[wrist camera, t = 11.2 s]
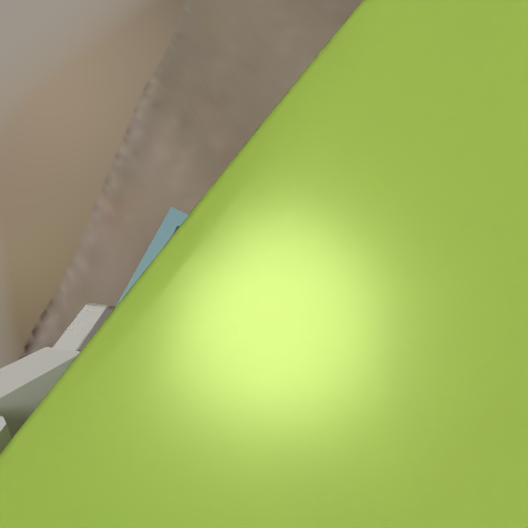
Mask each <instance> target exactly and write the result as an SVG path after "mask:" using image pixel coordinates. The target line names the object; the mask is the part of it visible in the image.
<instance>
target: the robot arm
mask: <svg viewBox="0 0 528 528" xmlns="http://www.w3.org/2000/svg"><path fill="white" fill-rule="evenodd" d="M115 307H116V306H108V305H101V304H95V303H89V304H87V305H85V306H84V307H83V308H82V310H81V311H80V312H79V314H78V315H77V316H76V318H75V319H74V320H73V321H72V323H71V324H70V325H69V327H68V328H67V329H66V330H65V332H64V333H63V334H62V336H61V337H60V338H59V339H58V341H57V342H56V343H55V345H54V346H53V347H52V348H50V347H45V348H43V349H41V350H38V351H36V352H34V353H32V354H30V355H28V356H26V357H24V358H22V359H20V360H18V361H16V362H14V363H12V364H10V365H8V366H5V367H3V368H1V369H0V453H1V452H2V451H3V449H4V448H5V447H6V446H7V444H8V443H9V442H10V440H11V439H12V438H13V437H14V435H15V434H16V433H17V432H18V430H19V429H20V428H21V426H22V425H23V424H24V423H25V421H26V420H27V419H28V418H29V416H30V415H31V414H32V412H33V411H34V410H35V409H36V407H37V406H38V405H39V404H40V402H41V401H42V400H43V399H44V397H45V396H46V395H47V393H48V392H49V391H50V390H51V388H52V387H53V386H54V385H55V383H56V382H57V381H58V379H59V378H60V377H61V376H62V374H63V373H64V372H65V371H66V369H67V368H68V367H69V366H70V364H71V363H72V362H73V360H74V359H75V358H76V357H77V355H78V354H79V353H80V352H81V350H82V349H83V348H84V346H85V345H86V344H87V343H88V341H89V340H90V339H91V338H92V336H93V335H94V334H95V333H96V331H97V330H98V329H99V327H100V326H101V325H102V324H103V322H104V321H105V320H106V319H107V317H108V316H109V315H110V314H111V312H112V311H113V310H114V308H115Z"/></svg>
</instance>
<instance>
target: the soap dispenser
mask: <svg viewBox="0 0 528 528" xmlns="http://www.w3.org/2000/svg"><path fill="white" fill-rule="evenodd" d="M0 528H528V0H363V1H362V2H361V3H360V4H359V5H358V7H357V8H356V9H355V10H354V11H353V13H352V14H351V15H350V16H349V17H348V19H347V20H346V21H345V22H344V23H343V25H342V26H341V27H340V28H339V29H338V31H337V32H336V33H335V34H334V36H333V37H332V38H331V39H330V40H329V42H328V43H327V44H326V45H325V47H324V48H323V49H322V50H321V52H320V53H319V54H318V55H317V56H316V58H315V59H314V60H313V61H312V63H311V64H310V65H309V66H308V68H307V69H306V70H305V71H304V72H303V74H302V75H301V76H300V77H299V79H298V80H297V81H296V82H295V83H294V85H293V86H292V87H291V88H290V90H289V91H288V92H287V93H286V95H285V96H284V97H283V98H282V99H281V101H280V102H279V103H278V104H277V106H276V107H275V108H274V109H273V111H272V112H271V113H270V114H269V115H268V117H267V118H266V119H265V120H264V122H263V123H262V124H261V125H260V127H259V128H258V129H257V130H256V132H255V133H254V134H253V135H252V137H251V138H250V139H249V140H248V142H247V143H246V144H245V145H244V147H243V148H242V149H241V150H240V152H239V153H238V154H237V155H236V157H235V158H234V159H233V160H232V162H231V163H230V164H229V165H228V167H227V168H226V169H225V170H224V172H223V173H222V174H221V175H220V176H219V178H218V179H217V180H216V181H215V183H214V184H213V185H212V186H211V188H210V189H209V190H208V191H207V193H206V194H205V195H204V196H203V198H202V199H201V200H200V201H199V203H198V204H197V205H196V206H195V208H194V209H193V210H192V211H191V213H190V214H189V215H188V217H187V218H186V219H185V220H184V222H183V223H182V224H181V225H180V227H179V228H178V229H177V230H176V232H175V233H174V234H173V235H172V237H171V238H170V239H169V240H168V242H167V243H166V244H165V245H164V247H163V248H162V249H161V251H160V252H159V253H158V254H157V256H156V257H155V258H154V259H153V261H152V262H151V263H150V264H149V266H148V267H147V268H146V269H145V271H144V272H143V273H142V274H141V276H140V277H139V278H138V279H137V281H136V282H135V283H134V284H133V286H132V287H131V288H130V290H129V291H128V292H127V293H126V295H125V296H124V297H123V298H122V300H121V301H120V302H119V303H118V305H117V306H116V307H115V308H114V310H113V311H112V312H111V314H110V315H109V316H108V317H107V319H106V320H105V321H104V322H103V324H102V325H101V326H100V327H99V329H98V330H97V331H96V333H95V334H94V335H93V336H92V338H91V339H90V340H89V341H88V343H87V344H86V345H85V346H84V348H83V349H82V350H81V352H80V353H79V354H78V355H77V357H76V358H75V359H74V360H73V362H72V363H71V364H70V366H69V367H68V368H67V369H66V371H65V372H64V373H63V374H62V376H61V377H60V378H59V379H58V381H57V382H56V383H55V385H54V386H53V387H52V388H51V390H50V391H49V392H48V393H47V395H46V396H45V397H44V399H43V400H42V401H41V402H40V404H39V405H38V406H37V407H36V409H35V410H34V411H33V412H32V414H31V415H30V416H29V418H28V419H27V420H26V421H25V423H24V424H23V425H22V426H21V428H20V429H19V430H18V432H17V433H16V434H15V435H14V437H13V438H12V439H11V440H10V442H9V443H8V444H7V446H6V447H5V448H4V449H3V451H2V452H1V453H0Z"/></svg>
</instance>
